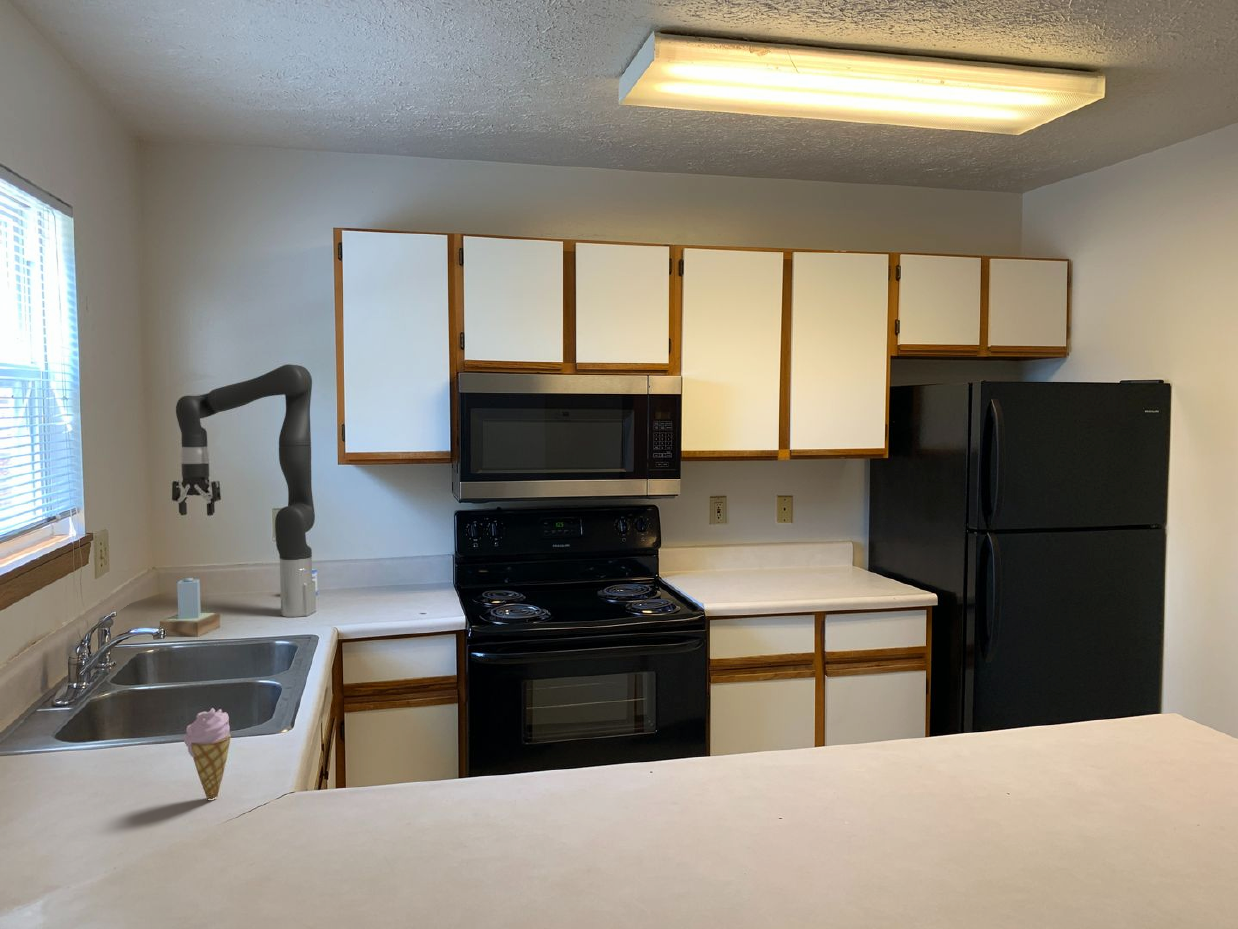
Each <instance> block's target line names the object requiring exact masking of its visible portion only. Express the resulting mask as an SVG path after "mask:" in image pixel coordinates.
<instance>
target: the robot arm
mask: <svg viewBox="0 0 1238 929" xmlns="http://www.w3.org/2000/svg"><path fill="white" fill-rule="evenodd" d="M312 388H313V378H312V374H311V372H310V371H309V370H308V369H307V368H306V367H305V366H302V365H298V364H289V363H288V364H287V363H286V364H283V365H281V366H279V367H277V368H275V369H273V370H271V371H268V372H266V373H264V374H261V375H259V376H257V377H254V378H252V379H248V380H244V381H239V382H236V383H232V384H227V385H224V386H220V387H217V388H214V389H212V390H210V391H209V392H207V393H203V394H199V395H183V396H181V397H180V398H179V399H178V400H177V402H176V406H175V414H176V419H177V423H178V427H179V430H180V433H181V454H180V459H181V478H182V481H181V480H173V481H172V482H171V500H172V501H173V502H177V504H178V514H180V516H186V515H188V512H187V511H188V509H187V502H186V501H187V500H188V499H189V498H190V497H191V496H201V497H202V498H203V499H204V500H205V501H206V502H207V503H206V515H207V516H208V517H209V516H213V515H214V514H215V503H216V502H218V501H219V502H220V501H221V500H222V496H221V486H220V485H221V484H220V481H219V480H214V481H210V478H209V477H210V458H209V457H210V455H209V450H208V449H209V448H208V433H207V430H206V428H204V427H202V425H201V419H205V418H208V417H212V416H213V415H215V414H219V413H220V412H227V411H228V410H229V411H230V410H233V409H237V408H239V407H243V406H246V405H248V404H250V403H252V402H255V401H257V400H259V399H263V398H266V397H272V396H284V397H285V398H284V399H285V414H284V418H283V423H282V425H281V428H280V432H279V438H278V459H279V460H278V461H279V466H280V469H281V472H282V475H283V477H284V478H285V482H286V486H287V490H288V498H287V506H284V507H282V508H280V510H278V511H277V513H276V516H275V519H274V529H275V530H274V532H275V545H276V546H275V547H276V549H277V551H278V555H279V558H278V559H279V586H280V587H279V588H280V590H279V592H280V593H279V594H280V615H281V616H283V617H288V618H295V617H296V618H298V617H308V616H310V615H312V614H313V613H316V612H317V604H316V603H317V602H316V600H317V599H316V597H317V595H316V593H315V581H312V569H313V551H312V548H311V546H310V545H308V543H307V537H306V533H307V532H309V531H310V530H311V529H312V528H313V526H314V524H315V522H316V520H315V519H316V515H315V513H316V512H315V507H314V498H313V497H314V496H313V490H312V437H311V436H312V434H311V429H312V428H311V400H312ZM209 487H210V489H211V491H210V489H209ZM181 488H183V490H181ZM181 491H182V492H181Z"/></svg>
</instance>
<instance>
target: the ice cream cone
mask: <svg viewBox="0 0 1238 929" xmlns="http://www.w3.org/2000/svg"><path fill="white" fill-rule="evenodd" d="M195 717H196V719H195V720H194V721H193V722H192V723H191V724H188V725H187V726H186V730H185V731H186V733H185V734H184V736H183V742H184V744H185V746H186V747H187V752H188V754H189V756H191V757H192V758H193V762H194V766H195V769H196V772H197V774H198V777H199V780H200V784H201V786H202V789H203V791H204V794H205V797H206V799H213V798H215V797H217V798H218V795H219V792H220V789H221V784H222V781H223V776H224V773H225V772H224V771H225V768H226V763H227V760H228V759H227V758H228V754H229V748H230V742H231V735H232V734H231V733H230V730H231V728H230V727H231V726H230V723H229V721H230V718H229V714H228V713H227V712H226V711H225V712H223V710H222V709H218V710H215V709H214V707H212V708H210V710H209V711H202V712H198V713H197V715H196V716H195Z"/></svg>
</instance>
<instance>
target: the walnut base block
mask: <svg viewBox="0 0 1238 929" xmlns="http://www.w3.org/2000/svg"><path fill="white" fill-rule="evenodd" d="M160 627H161V628H163V629H164V630H165V631H166V636H165V637H193V638H195V637H196V638H199V637H200V636H203V635H205V634H207V633H210V632H212V631H214V630H217V629H219V628H220V627H221V614H220V612H201V615H200V616H199V618H191V619H178V614H176V615H172V616H170V617H168V618H164V619H162V620H160V621H159V628H160Z"/></svg>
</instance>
